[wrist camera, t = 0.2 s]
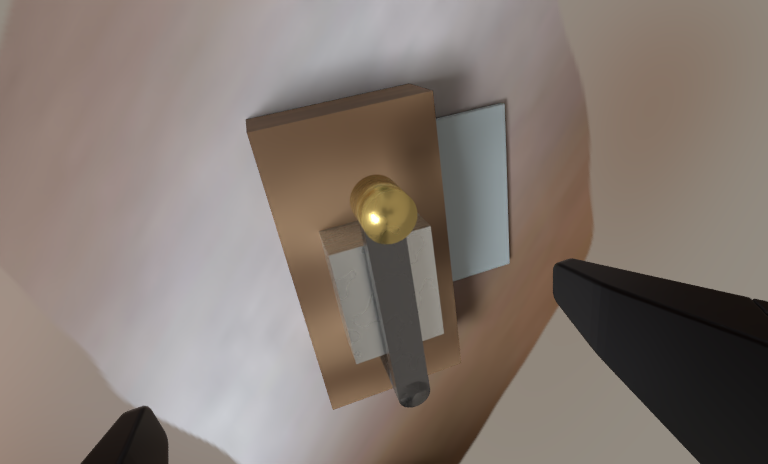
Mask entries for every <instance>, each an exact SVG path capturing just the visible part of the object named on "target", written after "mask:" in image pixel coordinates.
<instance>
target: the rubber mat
mask: <svg viewBox="0 0 768 464" xmlns="http://www.w3.org/2000/svg"><path fill="white" fill-rule="evenodd" d="M436 126H437V135H438V145H439V154H440V164H441V174H442V183H443V193H444V202H445V212H446V222H447V231H448V241H449V250H450V260H451V270H452V279H453V281H456V280H459V279H463V278H466V277H469V276H472V275H475V274H478V273H481V272H484V271H487V270H490V269H493V268H497V267H500V266H503V265H506V264H509V232H508V199H507V166H506V133H505V104H503V103H498V104H494V105H490V106H486V107H482V108H478V109H473V110H469V111H465V112H461V113H457V114H453V115H449V116H444V117H440V118H436Z"/></svg>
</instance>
